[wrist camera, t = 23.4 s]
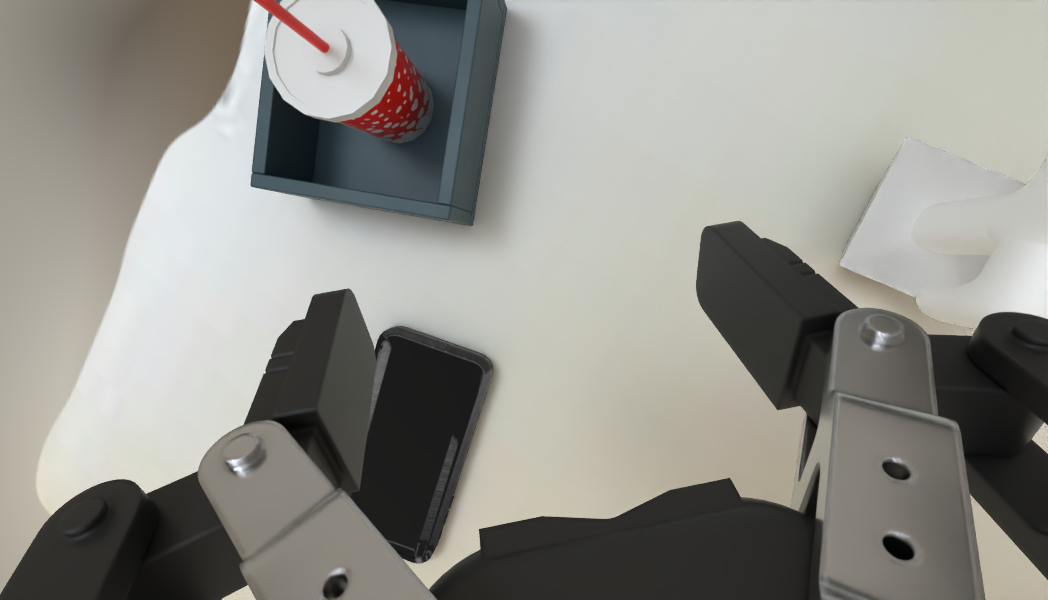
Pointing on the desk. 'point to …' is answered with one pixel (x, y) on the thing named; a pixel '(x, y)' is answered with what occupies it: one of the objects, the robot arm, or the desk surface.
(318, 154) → the tub
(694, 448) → the desk surface
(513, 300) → the desk surface
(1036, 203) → the figurine
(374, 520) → the phone
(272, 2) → the beverage cup
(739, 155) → the desk surface
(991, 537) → the desk surface
